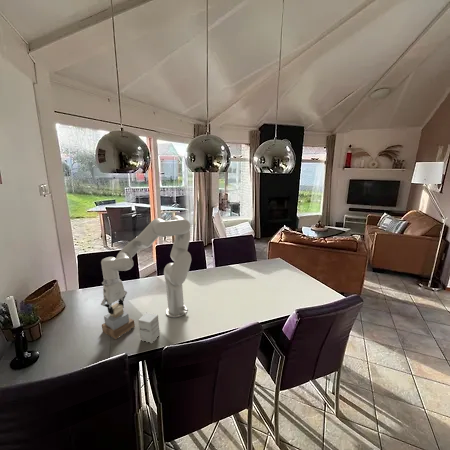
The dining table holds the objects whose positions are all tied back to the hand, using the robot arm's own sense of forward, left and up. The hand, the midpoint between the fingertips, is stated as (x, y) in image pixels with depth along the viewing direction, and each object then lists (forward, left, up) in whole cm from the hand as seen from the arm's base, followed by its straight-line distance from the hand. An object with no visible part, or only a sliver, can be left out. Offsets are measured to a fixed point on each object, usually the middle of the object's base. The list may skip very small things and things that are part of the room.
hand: (116, 310), depth 141 cm
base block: (0, 0, -13) cm, 13 cm away
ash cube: (0, 0, -3) cm, 3 cm away
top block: (0, +1, -8) cm, 8 cm away
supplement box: (-21, -4, -12) cm, 25 cm away
